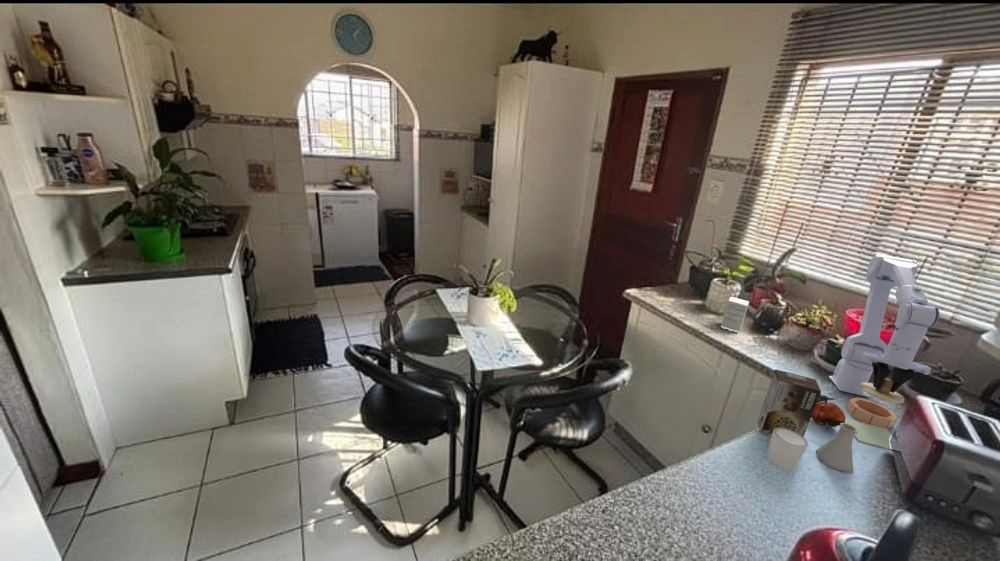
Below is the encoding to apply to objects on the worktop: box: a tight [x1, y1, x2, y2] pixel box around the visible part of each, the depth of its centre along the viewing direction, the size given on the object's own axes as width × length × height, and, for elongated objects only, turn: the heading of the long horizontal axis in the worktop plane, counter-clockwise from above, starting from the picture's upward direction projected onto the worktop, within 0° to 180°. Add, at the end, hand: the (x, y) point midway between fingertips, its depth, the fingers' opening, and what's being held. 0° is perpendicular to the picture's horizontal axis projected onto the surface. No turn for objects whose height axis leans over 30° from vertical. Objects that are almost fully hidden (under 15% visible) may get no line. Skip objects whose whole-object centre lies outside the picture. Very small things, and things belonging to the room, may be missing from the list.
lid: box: [860, 377, 905, 404], centre depth 115 cm, size 9×9×4 cm
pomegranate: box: [811, 398, 846, 434], centre depth 112 cm, size 7×7×10 cm
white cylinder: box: [767, 428, 809, 471], centre depth 96 cm, size 7×7×7 cm
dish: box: [845, 397, 898, 430], centre depth 119 cm, size 10×10×3 cm
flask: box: [815, 423, 858, 473], centre depth 97 cm, size 7×7×10 cm
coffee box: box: [756, 369, 822, 438], centre depth 105 cm, size 9×6×16 cm
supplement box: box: [720, 296, 750, 332], centre depth 172 cm, size 7×7×13 cm
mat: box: [845, 417, 892, 450], centre depth 111 cm, size 10×10×1 cm
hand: (883, 389), depth 115 cm, fingers closed on lid, 3 cm apart
